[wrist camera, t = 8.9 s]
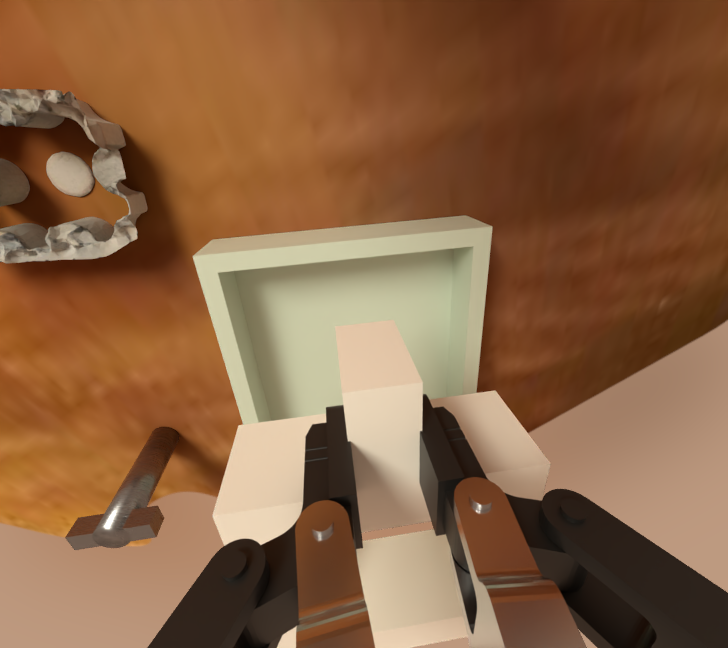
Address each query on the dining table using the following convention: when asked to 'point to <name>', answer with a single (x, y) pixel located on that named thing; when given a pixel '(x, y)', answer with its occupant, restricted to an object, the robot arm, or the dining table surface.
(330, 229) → the tray
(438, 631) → the cream rectangular frame
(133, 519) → the T-head stake
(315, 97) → the dining table surface
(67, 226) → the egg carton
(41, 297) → the dining table surface
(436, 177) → the dining table surface
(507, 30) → the dining table surface
